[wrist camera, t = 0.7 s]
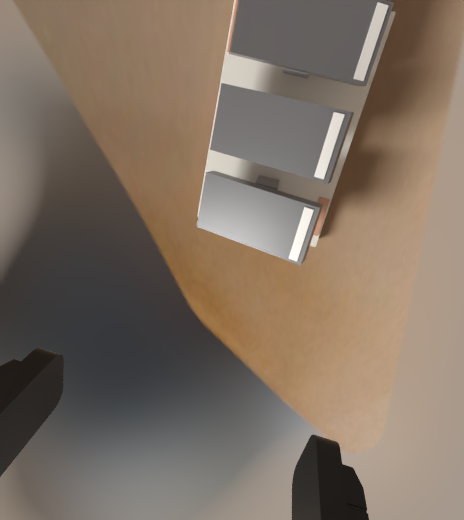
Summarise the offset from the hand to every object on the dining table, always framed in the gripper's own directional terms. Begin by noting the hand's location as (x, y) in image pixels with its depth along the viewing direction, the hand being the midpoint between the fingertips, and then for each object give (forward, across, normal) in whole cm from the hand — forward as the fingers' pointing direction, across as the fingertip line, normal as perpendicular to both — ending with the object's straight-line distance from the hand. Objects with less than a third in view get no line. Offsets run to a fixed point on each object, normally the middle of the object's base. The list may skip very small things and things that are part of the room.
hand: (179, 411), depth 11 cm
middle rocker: (+16, 0, -8) cm, 17 cm away
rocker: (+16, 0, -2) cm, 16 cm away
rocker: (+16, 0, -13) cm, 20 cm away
